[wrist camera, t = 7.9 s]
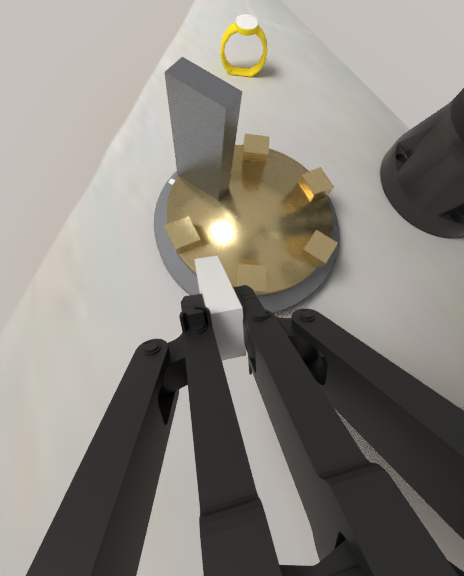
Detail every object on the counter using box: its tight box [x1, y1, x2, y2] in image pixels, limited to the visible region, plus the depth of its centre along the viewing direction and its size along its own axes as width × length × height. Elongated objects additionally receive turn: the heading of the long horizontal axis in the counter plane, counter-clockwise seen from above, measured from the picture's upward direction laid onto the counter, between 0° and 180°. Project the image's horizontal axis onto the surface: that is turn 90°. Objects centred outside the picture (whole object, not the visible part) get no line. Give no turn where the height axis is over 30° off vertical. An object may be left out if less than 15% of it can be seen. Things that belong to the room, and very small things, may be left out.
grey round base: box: [154, 171, 339, 313], centre depth 30 cm, size 20×20×2 cm
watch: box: [221, 14, 267, 77], centre depth 35 cm, size 6×3×6 cm, turn 90°
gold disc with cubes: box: [164, 57, 338, 297], centre depth 23 cm, size 17×17×12 cm
